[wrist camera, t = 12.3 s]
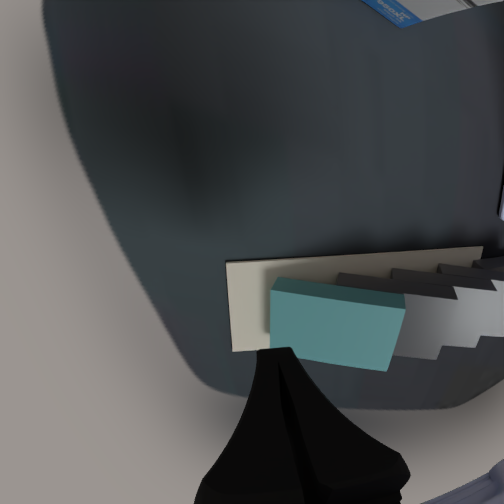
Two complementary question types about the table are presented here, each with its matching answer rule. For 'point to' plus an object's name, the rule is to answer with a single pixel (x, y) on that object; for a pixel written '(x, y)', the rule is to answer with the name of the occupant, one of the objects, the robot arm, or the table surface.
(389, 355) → the tile teal
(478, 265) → the tile
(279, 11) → the table surface
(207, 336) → the table surface
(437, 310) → the tile
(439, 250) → the mat
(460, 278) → the tile
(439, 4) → the ink box
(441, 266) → the tile
